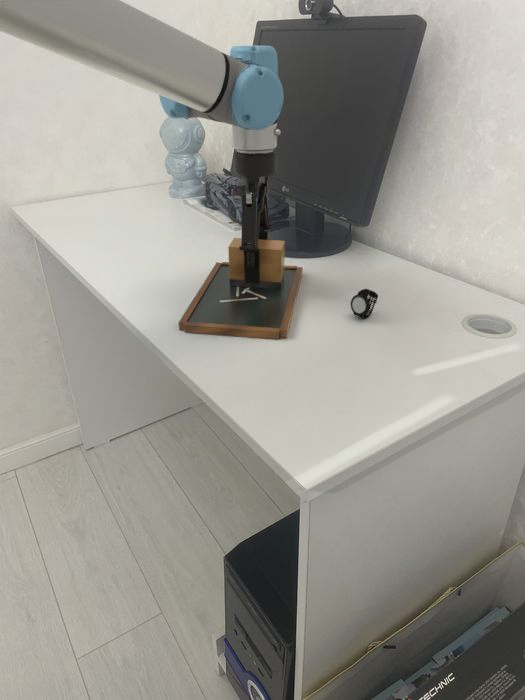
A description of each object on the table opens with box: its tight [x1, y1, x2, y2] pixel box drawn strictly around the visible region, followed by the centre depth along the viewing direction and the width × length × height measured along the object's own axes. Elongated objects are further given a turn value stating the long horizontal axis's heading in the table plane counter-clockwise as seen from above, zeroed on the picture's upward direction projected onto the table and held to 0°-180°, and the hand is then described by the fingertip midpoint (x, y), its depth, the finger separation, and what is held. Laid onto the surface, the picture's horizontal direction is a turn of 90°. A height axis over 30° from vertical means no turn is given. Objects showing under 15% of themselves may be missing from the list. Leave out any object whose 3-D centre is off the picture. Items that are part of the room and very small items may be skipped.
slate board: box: [178, 261, 304, 340], centre depth 98 cm, size 18×28×2 cm, turn 171°
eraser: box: [227, 237, 286, 290], centre depth 99 cm, size 10×5×8 cm, turn 81°
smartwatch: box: [350, 288, 379, 319], centre depth 90 cm, size 4×5×5 cm
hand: (256, 272), depth 100 cm, fingers open, 9 cm apart
